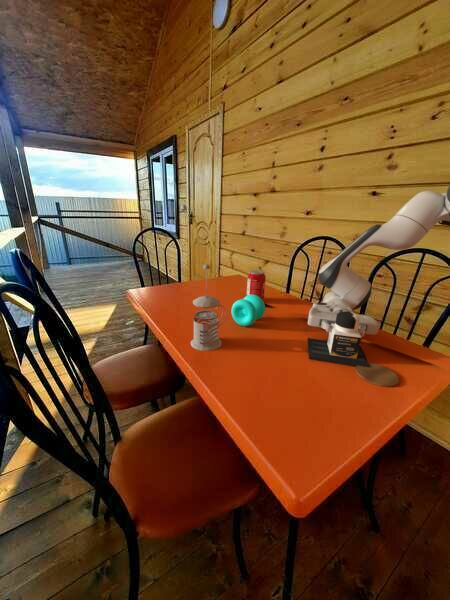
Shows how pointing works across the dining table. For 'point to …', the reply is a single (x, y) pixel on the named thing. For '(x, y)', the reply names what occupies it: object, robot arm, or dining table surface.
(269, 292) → the dining table surface
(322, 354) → the scrub mat
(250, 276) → the soda can
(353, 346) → the medicine bottle
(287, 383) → the dining table surface
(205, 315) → the french press
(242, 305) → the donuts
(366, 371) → the coaster
